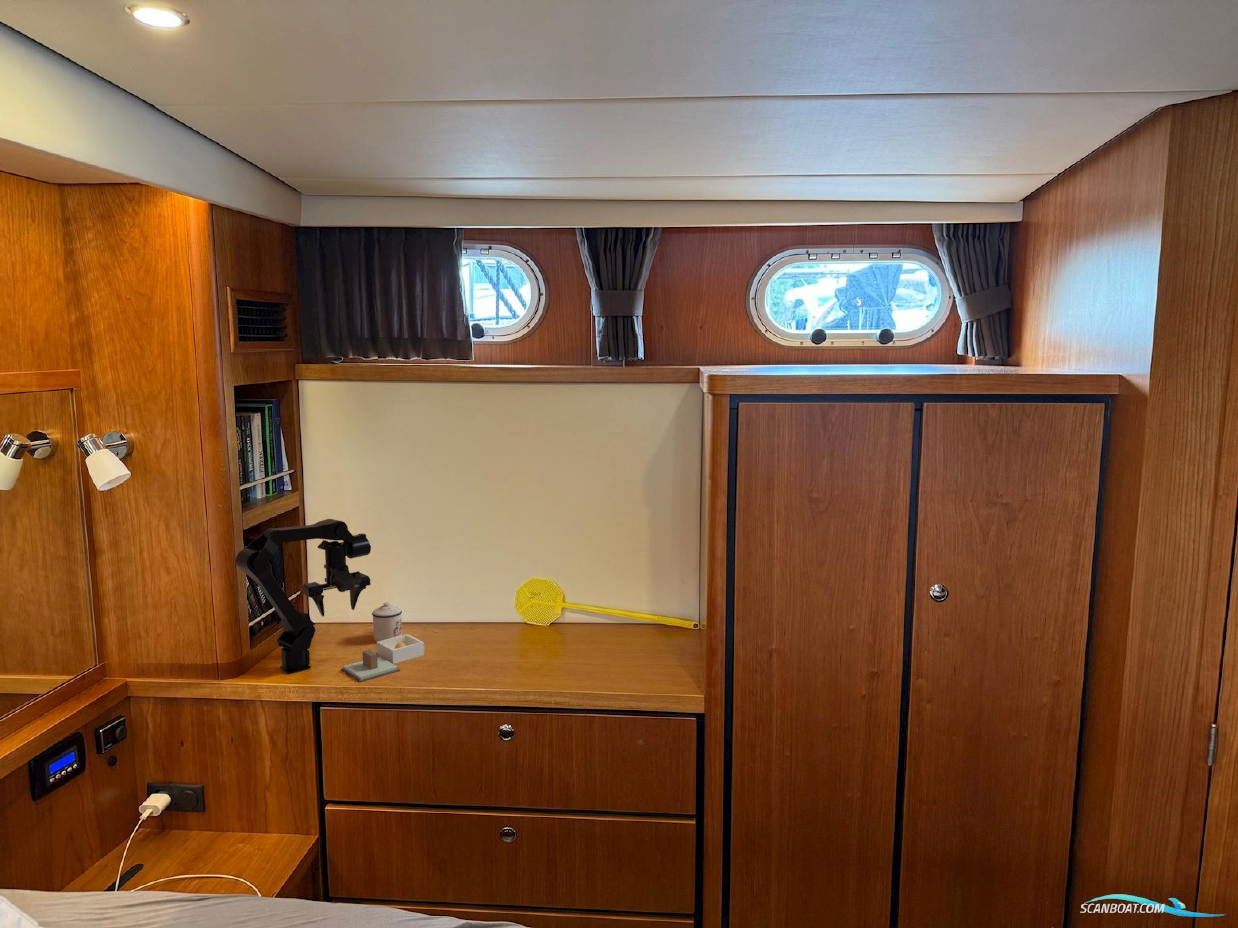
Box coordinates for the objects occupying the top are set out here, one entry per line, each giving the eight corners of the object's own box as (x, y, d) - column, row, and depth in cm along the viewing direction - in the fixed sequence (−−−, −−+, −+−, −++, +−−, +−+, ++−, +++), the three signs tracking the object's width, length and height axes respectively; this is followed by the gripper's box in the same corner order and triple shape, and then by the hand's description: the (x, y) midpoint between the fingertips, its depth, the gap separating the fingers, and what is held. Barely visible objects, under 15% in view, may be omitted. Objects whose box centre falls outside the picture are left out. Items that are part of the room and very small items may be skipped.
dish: (393, 663, 227) (392, 650, 227) (377, 654, 234) (376, 641, 234) (424, 655, 234) (423, 642, 234) (407, 646, 241) (407, 633, 241)
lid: (360, 679, 215) (360, 663, 214) (343, 668, 223) (342, 652, 222) (397, 669, 222) (397, 652, 222) (379, 658, 230) (378, 642, 230)
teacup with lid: (399, 643, 244) (398, 606, 243) (369, 643, 244) (368, 607, 242) (407, 630, 256) (406, 595, 255) (379, 630, 256) (378, 595, 254)
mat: (359, 682, 214) (359, 680, 214) (341, 669, 223) (340, 668, 223) (400, 670, 222) (400, 669, 222) (380, 659, 231) (380, 657, 231)
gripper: (315, 572, 219) (318, 626, 221) (378, 561, 232) (380, 612, 234) (299, 565, 227) (302, 617, 229) (361, 554, 240) (363, 604, 242)
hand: (338, 612), depth 233 cm, fingers open, 9 cm apart
